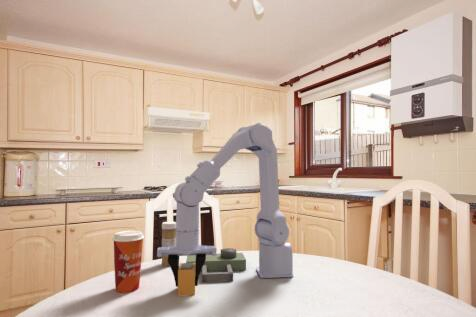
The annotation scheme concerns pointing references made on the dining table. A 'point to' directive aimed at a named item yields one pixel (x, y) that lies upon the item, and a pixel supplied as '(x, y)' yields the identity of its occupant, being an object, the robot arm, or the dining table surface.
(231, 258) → the green block with knob
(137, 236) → the paper cup
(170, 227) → the sprinkles bottle
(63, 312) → the dining table surface
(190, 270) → the chute block
